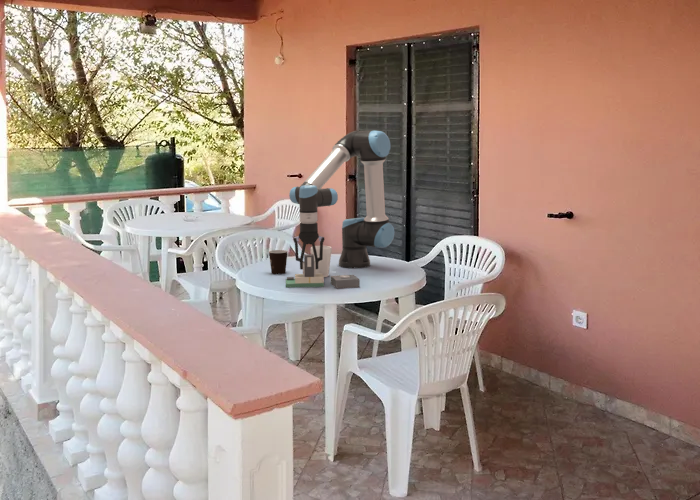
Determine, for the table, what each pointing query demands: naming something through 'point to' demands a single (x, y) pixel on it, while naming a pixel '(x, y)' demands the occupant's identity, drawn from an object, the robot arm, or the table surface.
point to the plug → (309, 265)
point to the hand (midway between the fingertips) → (309, 276)
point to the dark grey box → (345, 281)
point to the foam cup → (323, 260)
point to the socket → (309, 279)
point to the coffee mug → (278, 261)
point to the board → (291, 283)
